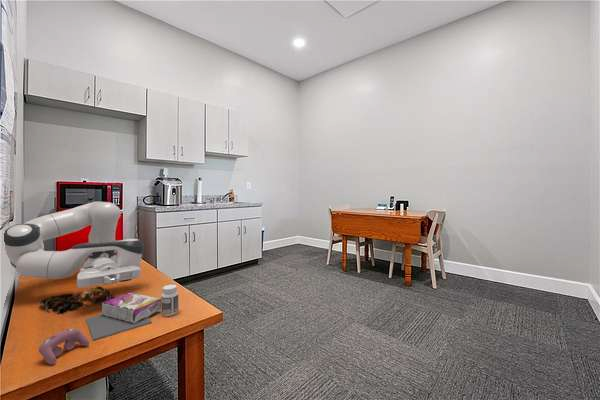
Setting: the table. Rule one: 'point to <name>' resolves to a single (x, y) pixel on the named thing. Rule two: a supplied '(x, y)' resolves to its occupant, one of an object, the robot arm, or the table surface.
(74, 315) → the table surface
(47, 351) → the video game controller
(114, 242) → the robot arm
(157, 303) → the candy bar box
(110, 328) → the mat
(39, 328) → the table surface
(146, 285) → the table surface
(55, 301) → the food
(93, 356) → the table surface
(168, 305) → the pill bottle
